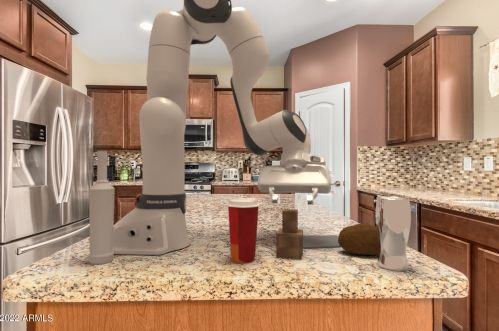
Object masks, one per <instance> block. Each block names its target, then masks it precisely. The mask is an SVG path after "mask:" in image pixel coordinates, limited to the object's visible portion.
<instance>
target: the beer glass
mask: <svg viewBox="0 0 499 331" xmlns="http://www.w3.org/2000/svg"><path fill="white" fill-rule="evenodd" d="M410 201H411V198H408V197H405V196H403V197H401V196H386V195H385V196H382V195H381V196H376V202H375V203H376V206H375V225H376V228H377V234H378V239H379V247H380V251H379V254H378V258H377V266H378V267H380V268H382V269H384V270H389V271H394V272H404V271H407V270H409V263H408V258H407V257H408V256H407V247H408V243H409V237H410V231H411V224H412V211H411V202H410Z"/></svg>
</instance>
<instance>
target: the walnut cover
mask: <svg viewBox="0 0 499 331" xmlns="http://www.w3.org/2000/svg"><path fill="white" fill-rule="evenodd" d="M281 212H282V213H281V215H282V216H281V221H282V222H281V228H279V229H278V230H277V232H276V233H275V234H276V235H275V236H276V238H275V239H276V240H275V243H276V244H275V249H276V250H275V258H277V259H288V258H291V259H290V260H301V259H303V256H304V255H303V254H304V249H303V236H304V228H303V229H302V228H300V229H299V227H298V226H299V209H295V208H294V209H293V208H292V209H291V208H283V210H282V211H281Z"/></svg>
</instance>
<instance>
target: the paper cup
mask: <svg viewBox="0 0 499 331" xmlns="http://www.w3.org/2000/svg"><path fill="white" fill-rule="evenodd" d="M259 206H261V205H260V203H259V200H258V199H257V198H248V197H239V198H238V197H237V198H235V197H234V198H229V200H227V204H226V207H228V209H227V210H228V212H227V213H228V227H229V228H228V229H229V230H228V231H229V248H230V250H229V251H230V260H231V262H233V263H236V264H249V263H252V262H255V260H256V251H257V250H256V249H257V234H258V220H259Z"/></svg>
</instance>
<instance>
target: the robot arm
mask: <svg viewBox="0 0 499 331" xmlns="http://www.w3.org/2000/svg"><path fill="white" fill-rule="evenodd" d="M149 36H150V37H149V40H148V51H147V63H146V64H147V66H146V76H145V77H146V92H147V95H146V96H147V97H146V98H147V99H146V101H144V103H143V105H142V106H141V108H140V110H139V113H138V114H139V115H138V118H139V119H138V120H139V121H138V122H139V139H140V151H141V162H142V193H139V194H137V195H136V196H135V197H134V198H133V200H134V201H133V203H134V207H135V208H133V209H132V210H131V211H129V212H128V213H127V214H125V216H123V217H122V218H121V219H119V220H118V221H117V222H116V223H115V224H113V251H114V255H138V256H140V255H142V256H143V255H144V256H145V255H146V256H151V255H152V256H153V255H155V256H159V255H163V254H164V255H165V254H167V253H169V252H174V251H177V250H180V249H184V248H186V247H189V246H190V245H191V240H190V238H189V234H188V229H187V221H186V212H187V193H185V176H186V175H185V170H186V168H185V133H186V125H187V106H188V86H189V73H190V60H191V59H190V57H191V46H192V45H206V44H210V43H211V42H212V41H214V40H215V38H217V37H218V38H219V39H220V40H221V41H222V42H223V44H224V45H225V47H226V49H227V52H228V54H229V57H230V59H231V63H232V75H231V77H230V83H229V84H230V88H231V92H232V97H233V101H234V105H235V108H236V111H237V115H238V119H239V122H240V126H241V131H242V139H243V140H242V141H243V144H244V147H245V149H246V150H247V151H248V152H250V153H251V154H253V155H256V156H259V157H261V156H264V155H266V154H268V153H270V152H271V151H273V150H275V149H277V148H280V147H281V149H282V153H281V156H280V163H279V165H277V164H276V165H275V164H274V165H265V166H262V167H261V168H260V169H259V173H258V175H259V176H258V179H257V188H258V190H259V191H260V193H268V194H269V196H270V197H271V204H278V203H279V202H278V201H279V198H278V197H279V196H278V194H276V193H280V194H281V193H282V194H283V193H285V194H291V193H292V194H311V195H307V205H309V206H310V205H314V201H315V199H316V198H317V197H318V194H325V195H326V194H329V193H330V192H332V179H331V173H330V171H329V168H328V166H327V165H326V159H325V157H322V156H317V155H314V154H310V153H311V148H312V144H311V142H312V141H311V137H310V133H309V132H310V131H309V130H308V128H307V127H306V125H305V123H304V121H303V120H302V117H300V116H299V115H298V114H297V113H296V112H294V111H291V110H289V109H283V110H281V111H277V113H274V114H273V115H271V116H269V117H268V116H267V118H264V119H262V120H260V121H257V117H256V114H255V110H254V106H253V103H252V98H251V94H252V91H253V89H254V87H255V85H256V84H257V82H258V81H259V80H260V78H261V77H262V76H263V74H264V73H265V72H266V70H267V69H268V66H269V62H270V50H269V47H268V45H267V42H266V40H265V37H264V36H263V34H262V31H261V28H260V27H259V25H258V23H257V22H256V20H255V19H254V17H253V15H252V14H251V13H250V11H249V10H248V9H247V8H245V7H243V6H234V7H233V4H232V0H183V7H182V9H180V10H178V11H174V10H162V11H160V12H158V13H157V14H156V15H155V18H154V20H153V23H152V26H151V30H150V35H149Z"/></svg>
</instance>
